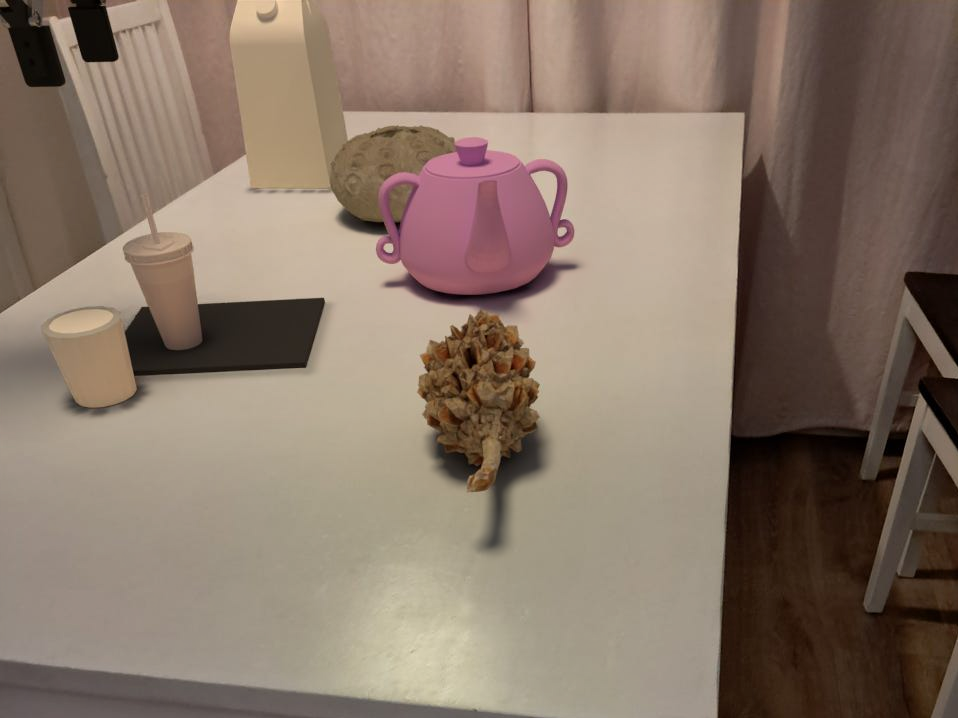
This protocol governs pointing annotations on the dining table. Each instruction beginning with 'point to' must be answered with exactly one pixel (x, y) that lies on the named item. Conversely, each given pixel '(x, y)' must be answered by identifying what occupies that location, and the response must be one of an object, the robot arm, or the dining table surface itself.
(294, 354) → the mat
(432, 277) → the teapot
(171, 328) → the smoothie
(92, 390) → the cream candle
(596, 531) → the dining table surface
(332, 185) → the decorative shell
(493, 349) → the pine cone
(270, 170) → the milk
